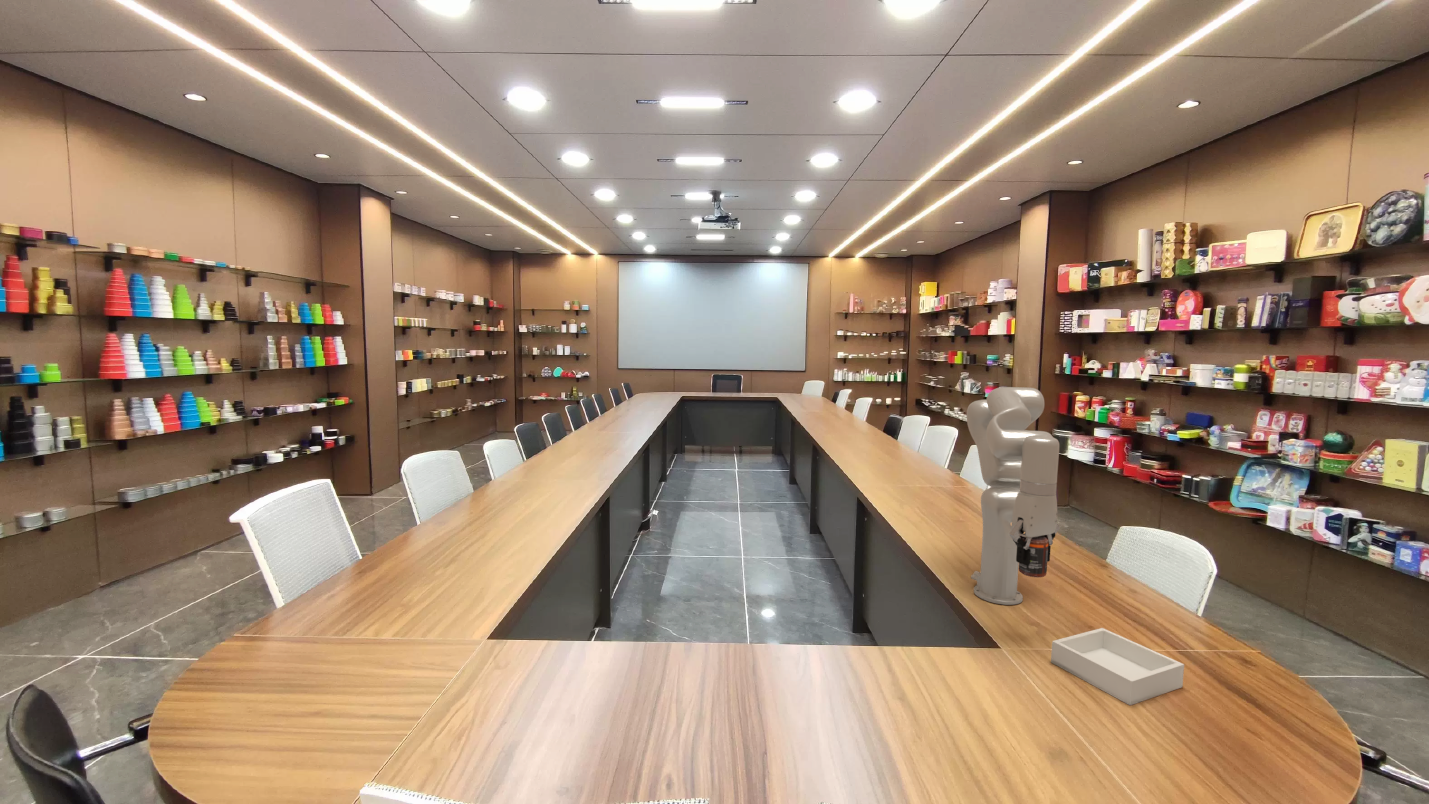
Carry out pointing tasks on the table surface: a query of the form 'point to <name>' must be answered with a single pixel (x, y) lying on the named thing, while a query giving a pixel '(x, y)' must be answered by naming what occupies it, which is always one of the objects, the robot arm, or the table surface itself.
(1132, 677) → the tray
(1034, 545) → the supplement bottle
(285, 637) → the table surface
